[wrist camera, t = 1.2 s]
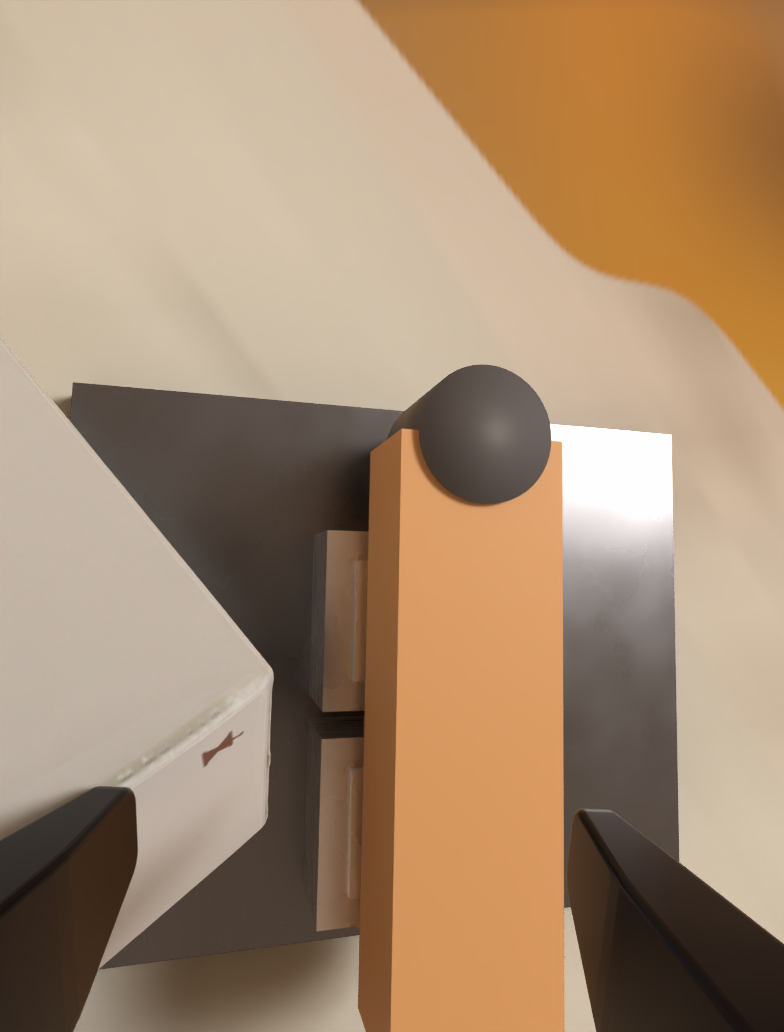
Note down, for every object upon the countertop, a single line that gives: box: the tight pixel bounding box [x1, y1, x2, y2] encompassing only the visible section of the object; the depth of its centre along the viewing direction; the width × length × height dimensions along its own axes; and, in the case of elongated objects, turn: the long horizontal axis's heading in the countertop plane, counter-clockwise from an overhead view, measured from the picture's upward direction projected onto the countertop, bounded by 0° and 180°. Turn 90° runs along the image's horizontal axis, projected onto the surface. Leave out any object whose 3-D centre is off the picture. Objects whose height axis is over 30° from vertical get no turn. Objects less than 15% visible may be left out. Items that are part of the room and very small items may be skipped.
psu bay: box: [70, 383, 679, 969], centre depth 19 cm, size 16×20×4 cm
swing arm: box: [358, 365, 564, 1032], centre depth 16 cm, size 16×4×3 cm, turn 179°
